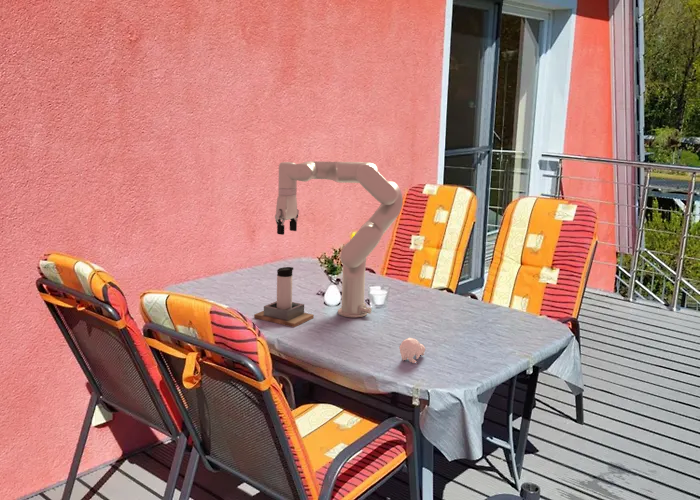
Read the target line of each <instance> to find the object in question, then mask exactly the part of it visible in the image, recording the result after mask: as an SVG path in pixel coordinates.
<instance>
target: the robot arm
mask: <svg viewBox="0 0 700 500" xmlns="http://www.w3.org/2000/svg"><path fill="white" fill-rule="evenodd" d="M310 180H330V181H334V182H336V183H342V184H346V183H348V184H349V183H350V184H352V183H353V184H360V185H361V186H362V187H363V189H365V191H367V192H368V193H369V194H370V195H371V196H372V197H373V198H374V199H375V200H376V201H377V202H379V203H380V205H379V207H378V208H377V209H376V210H375V211H374V213H373V214H372V215H371V216H370V218H369V219H368V220H367V221H366V222H365V223H364V224H362V226H361V227H360V228H359V229H358V230H357V232H355V234H354V235H353V236H352V237H351V238H350V240H349V241H348V242H346V243H345V245H344V246H343V248H342V249H341V250H340V255H339V259H340V261H341V264H342V278H341V280H342V283H341V286H342V287H341V307H340V308H338V309H337V314H338V315H339V316H341V317H345V318H362V317H365V316H367V315H368V314H370V315H371V313H372V307H367V303H365V288H366V287H365V285H366V266H367V258H368V256H370V254H371V253H372V252H373V251H374V250H375V248H376V247H377V245H379V243H380V241H381V240H382V237H383V235H384V234H385V233H386V231H388V230H389V228H390V227H391V226H392V224H393V223H394V222H395V221H396V220H397V218H398V216H399V214H400V213H401V211H402V207H403V202H404V201H403V193H402V191H401V188H400V187H399V185H398V184H397V182H395V181H392V180H391V181H390V180H389V181H388V180H387V179H386V178H385V177H384V176H383V175H382V174H381V173H380V172H379V169H378V166H377V165H376V164H375V163H373V162H368V161H315V160H314V161H313V160H312V161H304V162H303V163H296V162H293V161H282V162H280V163H279V165H278V191H277V192H278V193H277V194H278V196H277V199H276V204H275V205H276V207H275V208H276V209H275V215H274V219H275V223H276V226H277V227H276V234H277V235H282V236H284V235H285V222H286V221H288V220H290V221H289V231H292V232H297V229H298V228H297V225H298V218H299V213H300V210H299V209H298V200H297V193H298V192H297V189H298V188H297V185H298V184H297V183H298V181H299V182H303V183H306V182H309V181H310Z"/></svg>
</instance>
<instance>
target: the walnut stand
mask: <svg viewBox="0 0 700 500" xmlns="http://www.w3.org/2000/svg"><path fill="white" fill-rule="evenodd" d="M253 315H254V316H253V319H257V320H262V321H264V322H265V321H266V322H271V323H275V324H279V325H283V326H287V327H292V328H295V327H298V326H300V325H302V324H304V323H306V322H308V321H310V320H313V319H314V318H315V316H314V315H315V314H312V313H309V312H308V313H307V312H304V314H302V315H300V316H298V317H295V318H293V319H291V320H289V321H285V320H281V319H276V318H272V317H267V316H264V310H262V311H259V312H257V313H254V314H253Z"/></svg>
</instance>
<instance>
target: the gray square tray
mask: <svg viewBox="0 0 700 500" xmlns="http://www.w3.org/2000/svg"><path fill="white" fill-rule="evenodd" d="M263 311H264V316H267V317H272V318H276V319H281V320H285V321H289V320H291V319H293V318H295V317H298V316H300V315H302V314H304V313H305V304H304V303H299V302H295V301H292V308H291V309H289V310H284V309H279V308H277V300H276V301H273V302H270V303H268V304H266V305H263Z"/></svg>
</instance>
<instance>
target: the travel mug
mask: <svg viewBox="0 0 700 500" xmlns="http://www.w3.org/2000/svg"><path fill="white" fill-rule="evenodd" d="M293 270H294V266H293V267H292V266H291V267H290V266H287V267H286V266H283V267H280V268H278V269H277V270H276V271H277V272H276V273H277V274H276V301H277V308H279V309H284V310H289V309H291V308H292V302H293Z"/></svg>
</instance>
